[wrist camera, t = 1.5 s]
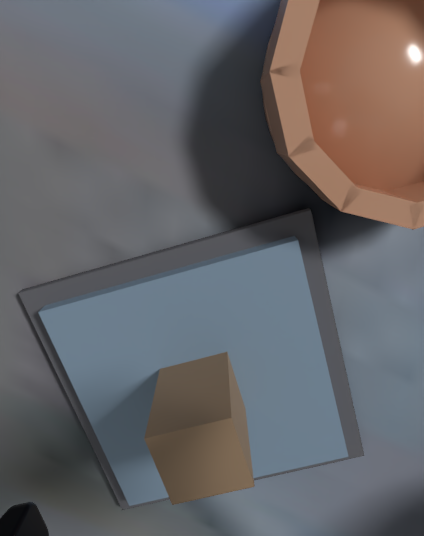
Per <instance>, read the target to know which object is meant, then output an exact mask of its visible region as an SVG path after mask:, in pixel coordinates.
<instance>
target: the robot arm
mask: <svg viewBox="0 0 424 536" xmlns="http://www.w3.org/2000/svg"><path fill="white" fill-rule="evenodd" d="M0 536H49V533H48V529H47V526H46V524H45V522H44V520H43V518H42V516H41V514H40V512H39V510H38V508H37V506H36V504H34V503H33V502H28V503H23V504H18V505H14V506H12V507H11V508H10V509H8V510H7V512H6V513H5V514H4V515H3V516H2V517H1V518H0Z"/></svg>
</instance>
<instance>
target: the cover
mask: <svg viewBox="0 0 424 536" xmlns="http://www.w3.org/2000/svg"><path fill="white" fill-rule="evenodd" d="M38 313H39V315H40V317H41V319H42V322H43V324H44V326H45V328H46V330H47V332H48V334H49V336H50V338H51V341H52V343H53V345H54V347H55V349H56V351H57V353H58V355H59V358H60V360H61V362H62V364H63V366H64V368H65V370H66V372H67V375H68V377H69V379H70V381H71V383H72V385H73V387H74V389H75V392H76V394H77V396H78V398H79V400H80V402H81V404H82V406H83V409H84V411H85V413H86V415H87V417H88V419H89V421H90V423H91V426H92V428H93V430H94V432H95V434H96V436H97V438H98V440H99V442H100V445H101V447H102V449H103V451H104V453H105V455H106V457H107V459H108V462H109V464H110V466H111V468H112V470H113V472H114V474H115V476H116V479H117V481H118V483H119V485H120V487H121V489H122V491H123V493H124V496H125V498H126V500H127V502H128V504H129V506H132V505H136V504H141V503H145V502H150V501H154V500H158V499H163V498H167V497H169V498H170V500H171V503H172V505H174V504H178V503H183V502H187V501H192V500H196V499H201V498H205V497H210V496H214V495H219V494H223V493H228V492H232V491H237V490H241V489H246V488H250V487H254V478H256V477H261V476H265V475H270V474H274V473H278V472H283V471H287V470H292V469H296V468H301V467H305V466H310V465H314V464H318V463H323V462H327V461H332V460H336V459H341V458H345V457H348V452H347V448H346V444H345V439H344V435H343V431H342V427H341V422H340V418H339V414H338V409H337V405H336V401H335V396H334V392H333V388H332V384H331V379H330V375H329V371H328V366H327V362H326V358H325V354H324V349H323V345H322V341H321V336H320V332H319V328H318V324H317V319H316V315H315V311H314V306H313V302H312V298H311V293H310V289H309V285H308V281H307V276H306V272H305V268H304V263H303V259H302V255H301V251H300V246H299V242H298V239H297V238H296V237H295V236H292V237H288V238H285V239H281V240H278V241H274V242H270V243H267V244H263V245H260V246H256V247H253V248H249V249H245V250H242V251H238V252H235V253H231V254H227V255H224V256H220V257H217V258H213V259H210V260H206V261H202V262H199V263H195V264H192V265H188V266H185V267H181V268H177V269H174V270H170V271H167V272H163V273H159V274H156V275H152V276H149V277H145V278H142V279H138V280H134V281H131V282H127V283H124V284H120V285H117V286H113V287H109V288H106V289H102V290H99V291H95V292H91V293H88V294H84V295H81V296H77V297H74V298H70V299H66V300H63V301H59V302H56V303H52V304H49V305H45V306H44V307H43V308H42V309H41V310H40V311H39V312H38Z"/></svg>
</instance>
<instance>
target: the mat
mask: <svg viewBox="0 0 424 536" xmlns="http://www.w3.org/2000/svg"><path fill="white" fill-rule="evenodd" d="M292 236H295V237H296V238H297V239H298V242H299V246H300V251H301V255H302V259H303V263H304V268H305V272H306V276H307V281H308V285H309V289H310V293H311V298H312V302H313V306H314V311H315V315H316V319H317V324H318V328H319V332H320V336H321V341H322V345H323V349H324V354H325V358H326V362H327V366H328V371H329V375H330V379H331V384H332V388H333V392H334V396H335V401H336V405H337V409H338V414H339V418H340V422H341V427H342V431H343V435H344V439H345V444H346V448H347V452H348V457H345V458H341V459H336V460H332V461H327V462H323V463H318V464H314V465H310V466H305V467H301V468H296V469H292V470H287V471H283V472H278V473H274V474H270V475H265V476H261V477H256V478H254V480H258V479H262V478H267V477H271V476H276V475H280V474H285V473H289V472H294V471H298V470H303V469H307V468H311V467H316V466H320V465H325V464H329V463H334V462H338V461H343V460H347V459H352V458H356V457H360V456H364V452H363V447H362V443H361V438H360V434H359V429H358V424H357V420H356V415H355V411H354V406H353V401H352V397H351V392H350V388H349V383H348V378H347V374H346V369H345V365H344V360H343V355H342V351H341V346H340V342H339V337H338V332H337V328H336V323H335V319H334V314H333V309H332V305H331V300H330V296H329V291H328V286H327V282H326V277H325V273H324V268H323V263H322V259H321V254H320V250H319V245H318V240H317V236H316V231H315V227H314V222H313V217H312V213H311V210H310V209H309V208H307V209H303V210H300V211H296V212H293V213H289V214H286V215H282V216H279V217H275V218H272V219H268V220H265V221H261V222H258V223H254V224H251V225H247V226H244V227H240V228H237V229H233V230H230V231H226V232H223V233H219V234H216V235H212V236H209V237H205V238H202V239H198V240H195V241H191V242H188V243H184V244H181V245H177V246H174V247H170V248H167V249H163V250H160V251H156V252H153V253H149V254H146V255H142V256H139V257H135V258H132V259H128V260H124V261H121V262H117V263H114V264H110V265H107V266H103V267H100V268H96V269H93V270H89V271H86V272H82V273H79V274H75V275H72V276H68V277H65V278H61V279H58V280H54V281H51V282H47V283H44V284H40V285H37V286H33V287H30V288H26V289H23V290H21V291H20V292H19V293H18V294H19V296H20V298H21V300H22V302H23V304H24V306H25V308H26V311H27V313H28V315H29V317H30V319H31V321H32V323H33V325H34V327H35V329H36V331H37V333H38V336H39V338H40V340H41V342H42V344H43V346H44V348H45V350H46V352H47V354H48V356H49V358H50V361H51V363H52V365H53V367H54V369H55V371H56V373H57V375H58V377H59V379H60V381H61V383H62V386H63V388H64V390H65V392H66V394H67V396H68V398H69V400H70V402H71V404H72V406H73V408H74V410H75V413H76V415H77V417H78V419H79V421H80V423H81V425H82V427H83V429H84V431H85V433H86V435H87V438H88V440H89V442H90V444H91V446H92V448H93V450H94V452H95V454H96V456H97V458H98V460H99V463H100V465H101V467H102V469H103V471H104V473H105V475H106V477H107V479H108V481H109V483H110V485H111V487H112V490H113V492H114V494H115V496H116V498H117V500H118V502H119V504H120V506H121V508H122V510H124V509H129V508H133V507H138V506H142V505H147V504H151V503H155V502H160V501H164V500H169V499H170V498H169V497H167V498H163V499H158V500H154V501H150V502H145V503H141V504H136V505H132V506H129V504H128V502H127V500H126V498H125V496H124V493H123V491H122V489H121V487H120V485H119V483H118V481H117V479H116V476H115V474H114V472H113V470H112V468H111V466H110V464H109V462H108V459H107V457H106V455H105V453H104V451H103V449H102V447H101V445H100V442H99V440H98V438H97V436H96V434H95V432H94V430H93V428H92V426H91V423H90V421H89V419H88V417H87V415H86V413H85V411H84V409H83V406H82V404H81V402H80V400H79V398H78V396H77V394H76V392H75V389H74V387H73V385H72V383H71V381H70V379H69V377H68V375H67V372H66V370H65V368H64V366H63V364H62V362H61V360H60V358H59V355H58V353H57V351H56V349H55V347H54V345H53V343H52V341H51V338H50V336H49V334H48V332H47V330H46V328H45V326H44V324H43V322H42V319H41V317H40V315H39V313H38V312H39V311H40V310H41V309H42V308H43V307H44V306H45V305H49V304H52V303H56V302H59V301H63V300H66V299H70V298H74V297H77V296H81V295H84V294H88V293H91V292H95V291H99V290H102V289H106V288H109V287H113V286H117V285H120V284H124V283H127V282H131V281H134V280H138V279H142V278H145V277H149V276H152V275H156V274H159V273H163V272H167V271H170V270H174V269H177V268H181V267H185V266H188V265H192V264H195V263H199V262H202V261H206V260H210V259H213V258H217V257H220V256H224V255H227V254H231V253H235V252H238V251H242V250H245V249H249V248H253V247H256V246H260V245H263V244H267V243H270V242H274V241H278V240H281V239H285V238H288V237H292Z"/></svg>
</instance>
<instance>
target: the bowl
mask: <svg viewBox="0 0 424 536" xmlns="http://www.w3.org/2000/svg"><path fill="white" fill-rule="evenodd" d="M260 83H261V88H262V94H263V106H264V111H265V117H266V121H267V124H268V128H269V131H270V134H271V137H272V139H273V141H274V143H275V147H276V152H277V153H278V154H279V155H280V156H281V157H282V158H283V160H284V161H285V162H286V164H287V165H288V166H289V167H290V168H291V170H292V171H293V172H294V173H295V174H296V175H297V176H298V177H299V178H300V179H301V180H302V181H304V182H305V183H306V184H307V185H308V186H309V187H310V188H311V189H312V190H313V191H314V192H315V193H316V194H317V195H318V196H319V197H320V198H321V199H322V200H323V201H325V202H327V203H328V204H330V205H331V206H333V207H335V208H336V209H338V210H339V211H341V212H345V213H349V214H353V215H357V216H361V217H365V218H369V219H373V220H377V221H382V222H386V223H390V224H394V225H398V226H402V227H406V228H410V229H417V228H420V227H424V0H281V1H280V6H279V10H278V14H277V18H276V22H275V25H274V28H273V30H272V33H271V36H270V40H269V43H268V46H267V50H266V55H265V60H264V65H263V72H262V76H261V80H260Z"/></svg>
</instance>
